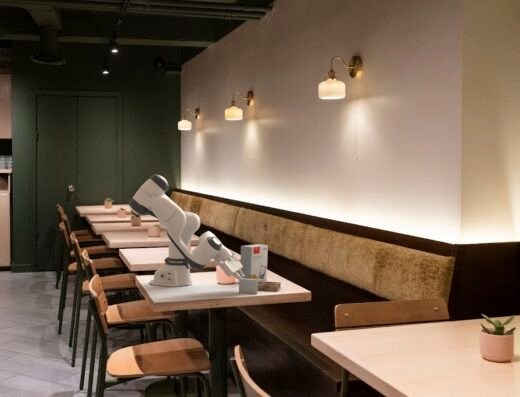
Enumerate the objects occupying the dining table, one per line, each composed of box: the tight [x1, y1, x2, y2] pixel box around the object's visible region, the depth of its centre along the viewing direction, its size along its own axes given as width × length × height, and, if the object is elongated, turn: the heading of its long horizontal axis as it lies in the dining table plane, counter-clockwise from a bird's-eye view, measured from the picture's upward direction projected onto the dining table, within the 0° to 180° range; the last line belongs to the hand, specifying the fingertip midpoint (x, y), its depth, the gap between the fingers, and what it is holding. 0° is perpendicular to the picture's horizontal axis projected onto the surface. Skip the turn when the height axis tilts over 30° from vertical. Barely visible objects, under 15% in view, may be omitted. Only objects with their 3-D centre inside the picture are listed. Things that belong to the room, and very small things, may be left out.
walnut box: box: [258, 280, 282, 292], centre depth 334 cm, size 12×10×3 cm
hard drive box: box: [239, 244, 269, 281], centre depth 355 cm, size 16×8×20 cm, turn 143°
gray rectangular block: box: [238, 278, 259, 295], centre depth 322 cm, size 7×3×9 cm
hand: (242, 278), depth 323 cm, fingers open, 5 cm apart
